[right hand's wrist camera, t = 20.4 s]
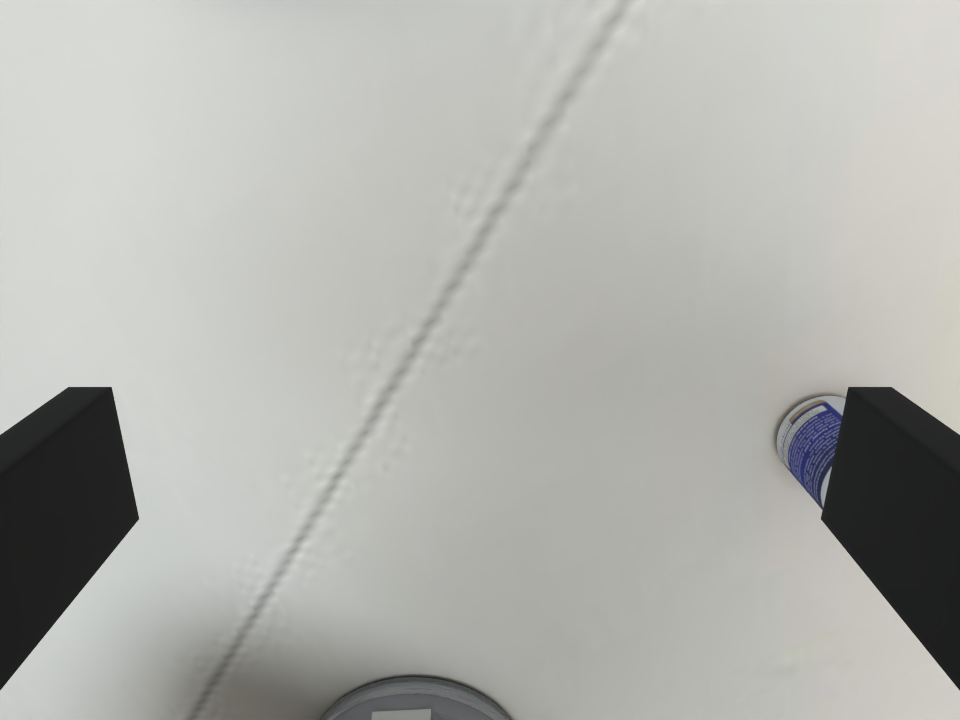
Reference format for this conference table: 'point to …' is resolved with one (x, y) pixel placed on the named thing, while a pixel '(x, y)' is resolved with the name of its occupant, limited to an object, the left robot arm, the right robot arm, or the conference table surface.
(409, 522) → the conference table surface
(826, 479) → the pill bottle
